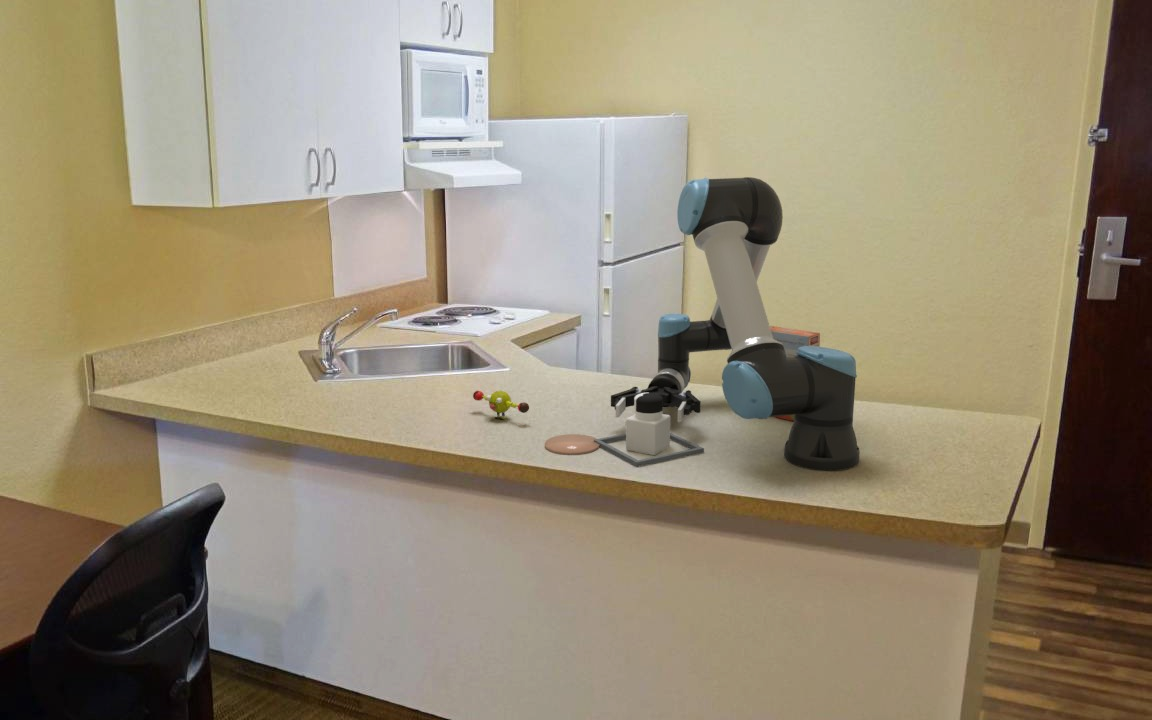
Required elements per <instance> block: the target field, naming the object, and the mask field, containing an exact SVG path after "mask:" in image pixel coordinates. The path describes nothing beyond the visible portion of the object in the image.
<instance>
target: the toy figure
mask: <svg viewBox="0 0 1152 720" xmlns="http://www.w3.org/2000/svg"><path fill="white" fill-rule="evenodd" d="M472 397H473V399H474V400H475V401H482V400H483V399H484V400H485V401H487V402H488V405H489V408H490V409H491V410H492V411H493V412H495V413H496V416H494V419H499V420H501V421H502V420H503V421H504V420H505V419H506V416H505V415H506V414H505V413H506V412H507V411H508V410H509V409H510V408H512V409H513V408H514V409H515V408H517V409H518V411H519V412H521V413H523V414H526V413H528V411H529V409H530V405H529V404H528V403H527V402H520V403H519V404H517V403H516V402H512V399H511V396H510V395H509V393H507V392H506V391H503V390H497V391H494V392H493V393H492V394H488V395H486V396H484V393H483V392H482V391H481V390H476V391H474V392H473V394H472ZM500 414H501V416H500Z"/></svg>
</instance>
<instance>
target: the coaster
mask: <svg viewBox="0 0 1152 720" xmlns="http://www.w3.org/2000/svg"><path fill="white" fill-rule="evenodd" d="M594 439H597V437H594V436H590V435H586V434H577V433H575V434H574V433H571V434H561V435H556V436H552V437H549V438H547V440H545V442H544V448H545V450H547V451H549V452H551V453H554V454H558V453H559V455H565V454H567V455H568V456H571V455H572V454H578V455H586V454H589V453H592V452H595V451H597V450H599V449H600V444H598V443H596V442H594ZM570 454H571V455H570Z"/></svg>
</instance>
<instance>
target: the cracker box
mask: <svg viewBox="0 0 1152 720" xmlns="http://www.w3.org/2000/svg"><path fill="white" fill-rule="evenodd" d="M769 326H770V329H771V333H772V336H773V339H774V340H776V341H778V342H780V343H782V344H783V346H784V350H785V353H786V356H787V357H794V356H797V351H798V348H799V347H802V346H817V347H820V344H821V343H820V342H821V339H820V338H821V333H820V332H817V331H809V330H804V329H803V330H802V329H797V328H788V327H782V326H774V325H769ZM776 418H777V419H782V420H788V421H792V422H794V418H795V414H794V415H785V416H777V417H776Z"/></svg>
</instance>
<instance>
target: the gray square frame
mask: <svg viewBox="0 0 1152 720" xmlns="http://www.w3.org/2000/svg"><path fill="white" fill-rule="evenodd" d="M624 440H625V441H626V433H621V434H616V435H612V436H605V437H600V438H596V439H594V442H596V443H598V444H600V447H599V449H600V448H601V449H602V450H604V451H606V452H608V453H610V454H611V455H614V456H615V457H617V458H619V459H621V460H623V461H625V462H626V463H628V464H630V465H632V466H633V467H636V468H639V467H644V466H647V465H652V464H657V463H662V462H668V461H670V460H675V459H676V460H677V459H681V458H682V459H683V458H686V457H691V456H695V455H700V454H704V453H705V448H704V447H702V446H700V445H698V444H696V443H694V442H691V441H689V440H687V439H685V438H682V437H680V436H678V435H675V434H674V433H671V432H670V441H673V442H675V443H677V444H678V445H681V446H683V447H685V448H688V449H684V450H681V451H680V450H679V451H674V452H671V453H665V454H661V455H657V456H656V455H654V456H652V457H651V456H650V457H646V458H642V459H637V458H636V457H633V456H631V455H629V454H627V453H625V452H623V451H622V450H620V449H618V448H616V447H613V446H612V445H610V444H609V443H615V442H619V441H624Z"/></svg>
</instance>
